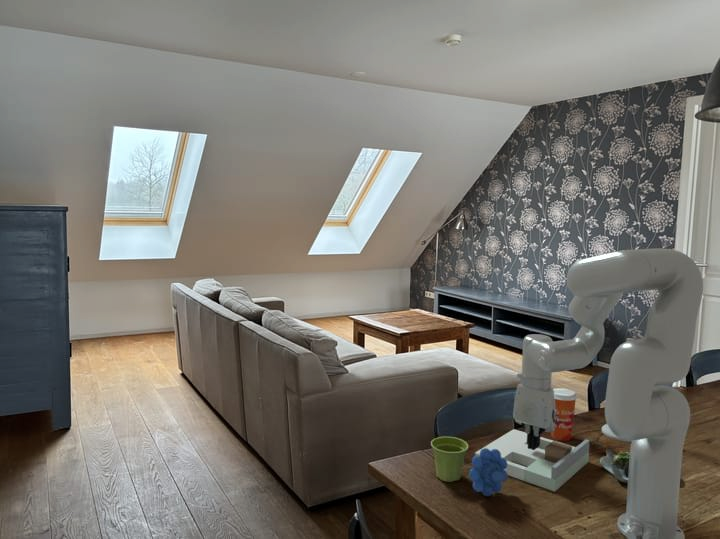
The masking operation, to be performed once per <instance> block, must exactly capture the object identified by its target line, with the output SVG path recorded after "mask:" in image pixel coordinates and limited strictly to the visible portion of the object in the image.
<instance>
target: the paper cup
mask: <svg viewBox="0 0 720 539" xmlns="http://www.w3.org/2000/svg"><path fill="white" fill-rule="evenodd" d="M553 391H554V397H555V423H554V429H555V430H554V431H553V432H550V434H551V436H550V437H551V438H552V437H553V438H552V439H554V440H556V439H557V440H556V441H561V442H568V441H570V439H571V440H572V434H573V428H574V427H573V426H574V420H575V419H574V417H575V408H576V400H577V399H578V396H577V393H576V392H575V391H574V390H571V389H567V388H562V387H561V388H553Z"/></svg>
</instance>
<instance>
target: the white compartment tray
mask: <svg viewBox="0 0 720 539" xmlns="http://www.w3.org/2000/svg"><path fill="white" fill-rule="evenodd" d="M552 441H555V440H552V439H548V438H545V437H542V436H540V446H539V447H538V448H536V449H535V450H532V449H528V444H527V433H526V432H525V431H521V430H518V429H514V428H513V429H512V430H510V431H508V432H507V433H505V434H503V435H502V436H500V437H498V438H497V439H495V440H493V441H491V442H490V443H488V444H487V445H485V446H484V447H482V448H481V449H479V450H476V452H474V457H475V456H480V451H481V450H482V449H484V448H487V449H489V450H490V451H491V450H492V449H497V450H499V451H500V453H501V457H503V458H505V459H506V461H507V467H506V469H504V470H505V471H506V472H507V475H508V476H509V477H512V478H515V479H518V480H521V481H523V482H526V483H529V484H532V485H535V486H537V487H540V488H543V489H546V490H549V491H551V492H554V493H555V492H556V491H557V490H558V489H560V487H562V486H563V485H564V484H565V483H566V482H567V481H568V480H570V479H571V478H572V477H573V476H574V475H575V474H576V473H577V472H579V471H580V470H581V469H582V468H583V467H584V466H585V465H587V464H588V462H589V459H590V458H589V457H590V456H589V454H590V439H584V440H583V441H582V442H581V443H579V444H578V445H577V446H573V445H570V444H568V445H569V446H572V451H571V452H569V453H568V454H567V455H566V456H564V457H563V458H562V459H561V460H559V461H558V462H557V463H554V462H551V461H547V460H545V447H546V446H547V445H548V444H550V443H551V442H552ZM555 442H557V440H556V441H555ZM558 442H559V441H558ZM559 443H562V442H559ZM562 444H564V443H562Z"/></svg>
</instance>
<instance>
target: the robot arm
mask: <svg viewBox="0 0 720 539" xmlns="http://www.w3.org/2000/svg"><path fill="white" fill-rule="evenodd" d="M703 280H704V279H703V274H702V273H701V270H700V268H699V266H698V264H696V263H695V261H694V260H693V258H691V257H690V256H688V255H687V254H686V253H683V252H681V251H680V250H679V251H678V250H677V249H671V248H658V247H657V248H641V249H638V248H636V249H624V250H623V249H622V250H617V251H612V252H608V253H603V254H599V255H595V256H589V257H584V258H581V259H578V260H577V261H575V262H574V263H573V264H572V265H571V266H570V267H569V269H568V271H567V274H566V285H567V288H568V290H569V291H570V292H571V293H572V294H573V295H574V297H573V298H572V300H570V302H569V305H568V313H569V315H570V317H571V318H572V319H573V320H574V321H575V322H576V323H577V324H579V325H580V326H581V327H580V329H579V331H578V332H577V334H576V335H575V336H574V338H572V339H571V338H570V339H564V340H557V341H553V339H552V338H551V336H548V335H545V334H537V333H536V334H535V333H534V334H527V335H525V336H524V338H523V342H522V361H521V362H522V364H521V372H520V373H519V372H518V373H517V375H516V377H517V379H519V380H520V383H518V384H517V387H516V391H515V397H514V402H513V412H512V413H513V416H512V417H513V419H514V421H515V423H517V424H518V425H521V427H523V429H524V430H525V431H524V432H525V433H527V444H528V449H532V450H535V449H536V448H538V447H539V446H540V437H541V435H542V434H543V433H545V432H546V433H551V432H553V431H554V430H555V429H554V423H555V397H554V391H553V389H554V388H553V387H552V374H553V373H554V374H555V373H559V372H566V371H572V370H580V369H582V368H586V367H587V366H588V365H589V364H591V363H592V362H593V361H594V359H595V358H596V356H597V355H598V353H599V352H600V351H601V349H602V347H603V345H604V342H605V334H606V333H605V325H604V323H605V321H606V320H607V318H608V317H609V315H610V314H611V312H612V311H613V309H614V308H615V306H616V305H617V303H618V302H619V301H620V299H621V297H622V296H623V294H624V293H626V294H627V293H636V292H646V291H647V292H648V291H649V292H650V291H658V295H657V297H656V298H655V300H654V302H652V305H651V307H650V308H649V312H648V316H647V323H646V328H645V333H644V336H643V337H642V338H638V339H634V340H630V341H627V340H626V341H627V342H626V341H625V342H623V343H621V344H620V345H619V346H618V347H617V348H616V349H615V351H614V352H613V354H612V356H611V358H610V362H609V363H610V364H609V369H608V377H607V384H606V392H605V401H604V417H605V418H604V419H605V422H606V424H608V427H609V428H610V430H611V431H612V432H613V433H614V434H615V435H616V436H617V437H619V438H621V439H624V440H629V441H632V442H630V443H631V444H630V449H629V452H630V457H629V473H628V485H627V494H626V508H625V509H626V510H625V512H624V513H622V514H621V515H619V516H618V518H617V524H616V525H617V528H618V530H619V532H620V533H621V534H622V535H623V536H625V537H626V539H685V533H684V531H683V530H682V529H681V527H680V526H678V512H679V500H680V486H681V485H680V484H681V473H682V472H681V471H682V470H681V469H682V464H683V463H682V462H683V452H684V451H683V450H684V443H685V439H686V436H687V433H688V430H689V426H690V421H691V408H690V404H689V401H688V400H687V398H686V397H685V395H684V394H683V393H682V392H681V391H679V390H678V389H676V388H674V387H672V386H667V385H670V384H673V383H677V382H679V381H682V380H684V379H685V378H686V377H687V375H688V373H689V372H690V367H691V361H692V355H693V348H694V343H695V336H696V326H697V322H698V321H697V320H698V317H699V316H698V315H699V311H700V307H701V303H702V299H703V292H704V281H703Z"/></svg>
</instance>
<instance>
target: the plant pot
mask: <svg viewBox="0 0 720 539" xmlns="http://www.w3.org/2000/svg"><path fill="white" fill-rule="evenodd" d="M430 446H431V448H432V452H433V454H434V456H433V457H434V464H435V475H436V477H437V478H438V479H439V480H440V481H443V482H448V483H453V482H455V481H459V480H461V478H462V472H463V471H462V470H463V466H464V460H465V455H466V453H467V451H468V450H469V444H468V443H467V441H465V440H464V439H461V438H458V437H454V436H439V437H436V438H433V439H432V440H431V441H430Z"/></svg>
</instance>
